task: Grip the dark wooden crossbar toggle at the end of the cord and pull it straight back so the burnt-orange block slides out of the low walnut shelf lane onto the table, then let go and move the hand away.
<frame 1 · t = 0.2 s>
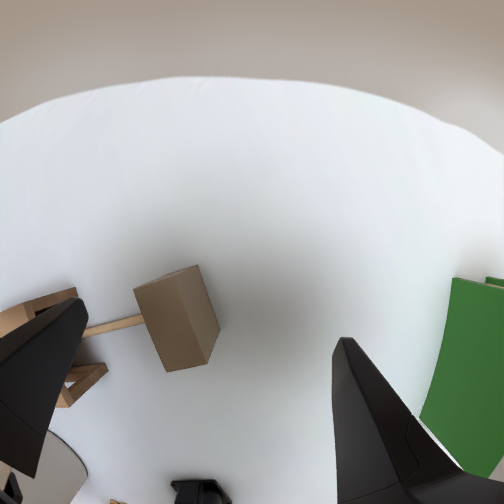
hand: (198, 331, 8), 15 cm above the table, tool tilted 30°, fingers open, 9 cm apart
hardback book: (459, 350, 23), on the table
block: (47, 340, 24), on the table
shelf lane: (46, 341, 24), on the table
cylinder vase: (58, 452, 25), on the table
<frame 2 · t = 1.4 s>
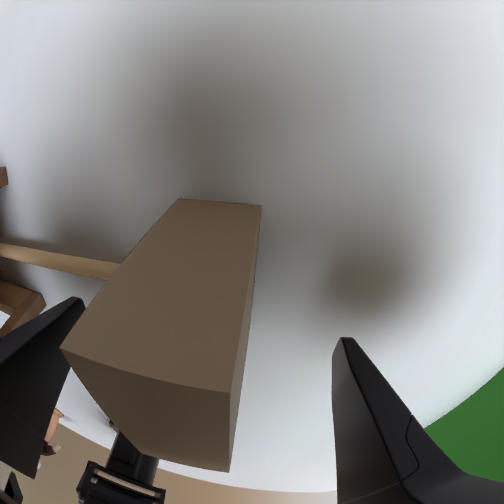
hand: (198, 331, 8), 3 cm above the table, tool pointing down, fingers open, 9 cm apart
hardback book: (465, 409, 18), on the table
grandmother figurine: (55, 408, 29), on the table
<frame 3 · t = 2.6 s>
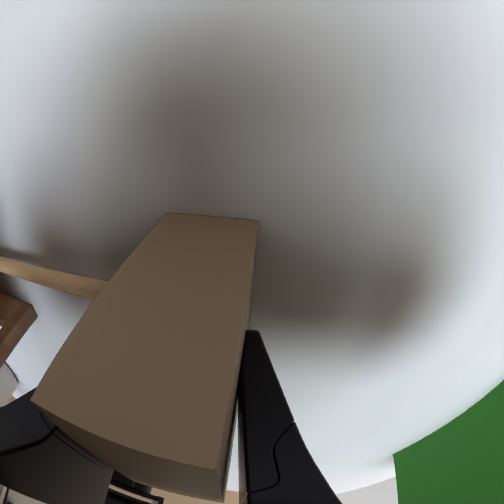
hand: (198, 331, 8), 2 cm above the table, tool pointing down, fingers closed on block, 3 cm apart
hardback book: (467, 417, 17), on the table
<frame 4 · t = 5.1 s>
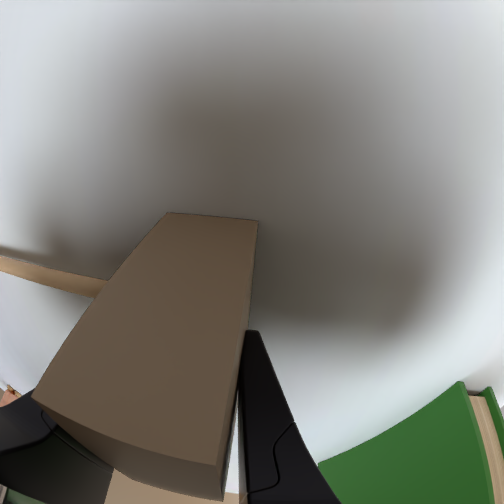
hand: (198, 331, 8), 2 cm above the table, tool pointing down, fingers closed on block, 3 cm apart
hardback book: (402, 434, 18), on the table
grandmother figurine: (18, 392, 28), on the table
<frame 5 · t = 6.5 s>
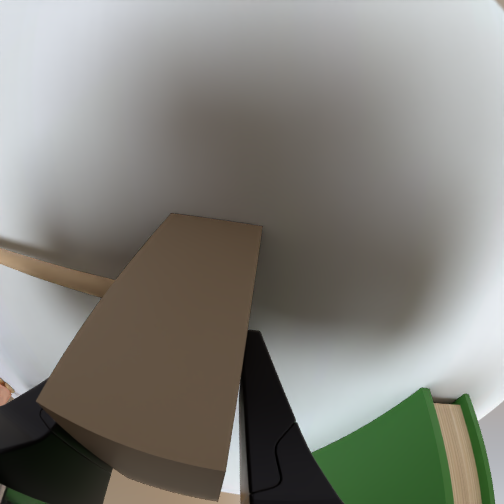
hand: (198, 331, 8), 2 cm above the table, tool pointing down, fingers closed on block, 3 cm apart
hardback book: (369, 439, 18), on the table
grandmother figurine: (8, 384, 28), on the table
when the fingers open (2 cm above the table, at t = 7.3 s): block stays where it is, on the table.
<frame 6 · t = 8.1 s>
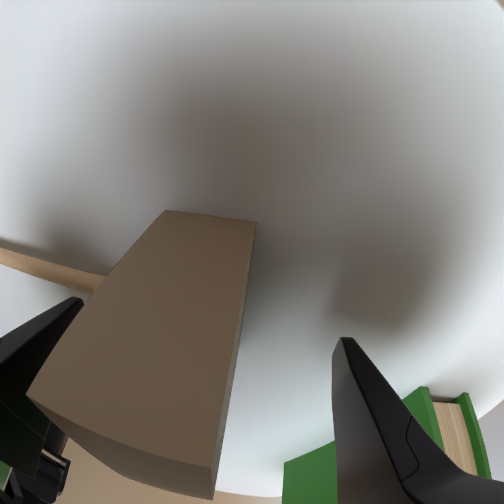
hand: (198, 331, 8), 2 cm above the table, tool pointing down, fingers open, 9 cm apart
hardback book: (368, 439, 18), on the table
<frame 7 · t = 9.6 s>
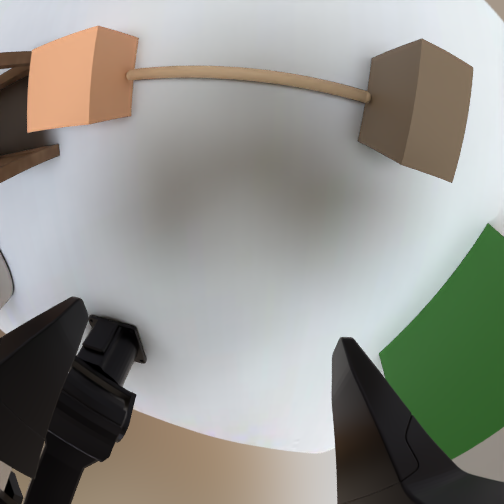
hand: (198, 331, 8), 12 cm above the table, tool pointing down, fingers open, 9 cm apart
hardback book: (452, 305, 22), on the table
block: (100, 80, 14), on the table
shelf lane: (9, 118, 15), on the table
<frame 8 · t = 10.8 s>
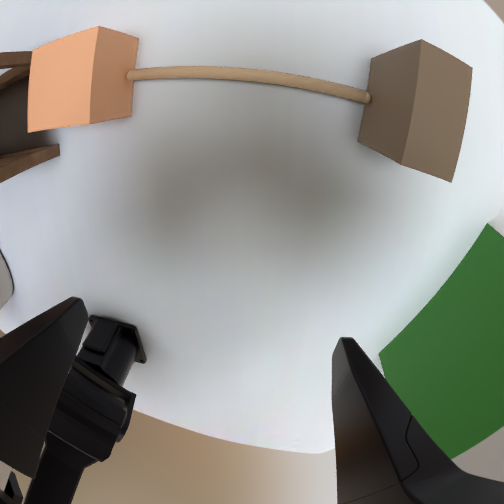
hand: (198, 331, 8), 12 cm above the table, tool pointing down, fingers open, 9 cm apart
hardback book: (451, 305, 22), on the table
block: (100, 80, 14), on the table
shelf lane: (9, 118, 15), on the table
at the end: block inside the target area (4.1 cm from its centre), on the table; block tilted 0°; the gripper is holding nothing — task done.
